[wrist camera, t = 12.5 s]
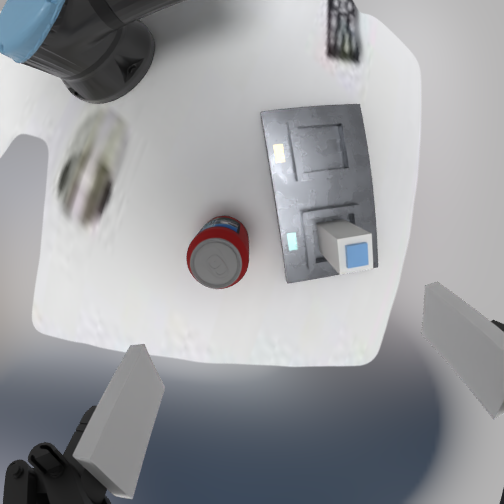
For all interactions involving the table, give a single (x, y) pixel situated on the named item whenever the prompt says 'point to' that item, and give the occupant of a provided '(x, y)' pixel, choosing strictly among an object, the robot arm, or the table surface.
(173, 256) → the table surface
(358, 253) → the plug
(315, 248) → the grey socket board
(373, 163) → the table surface
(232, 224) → the beverage can
